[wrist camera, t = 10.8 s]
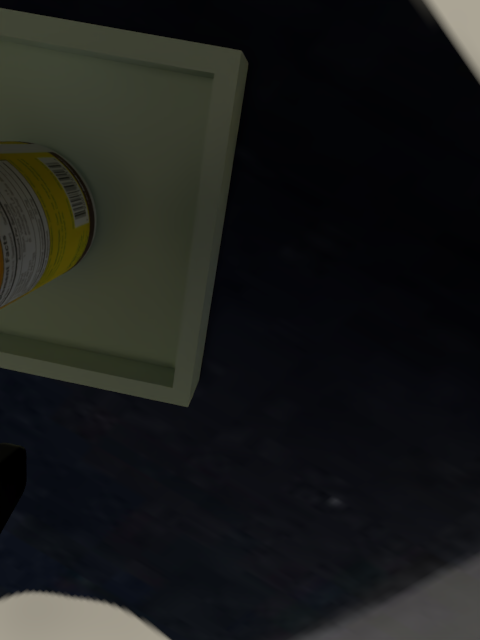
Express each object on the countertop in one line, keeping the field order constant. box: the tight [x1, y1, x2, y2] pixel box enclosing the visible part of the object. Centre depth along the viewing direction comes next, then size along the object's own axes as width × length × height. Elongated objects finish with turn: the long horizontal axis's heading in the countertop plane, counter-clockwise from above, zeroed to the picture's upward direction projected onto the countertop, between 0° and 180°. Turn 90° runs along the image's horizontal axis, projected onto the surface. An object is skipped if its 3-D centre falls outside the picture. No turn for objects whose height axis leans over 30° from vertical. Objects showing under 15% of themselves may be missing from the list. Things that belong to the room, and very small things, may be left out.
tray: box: [0, 8, 249, 407], centre depth 19 cm, size 16×14×2 cm
